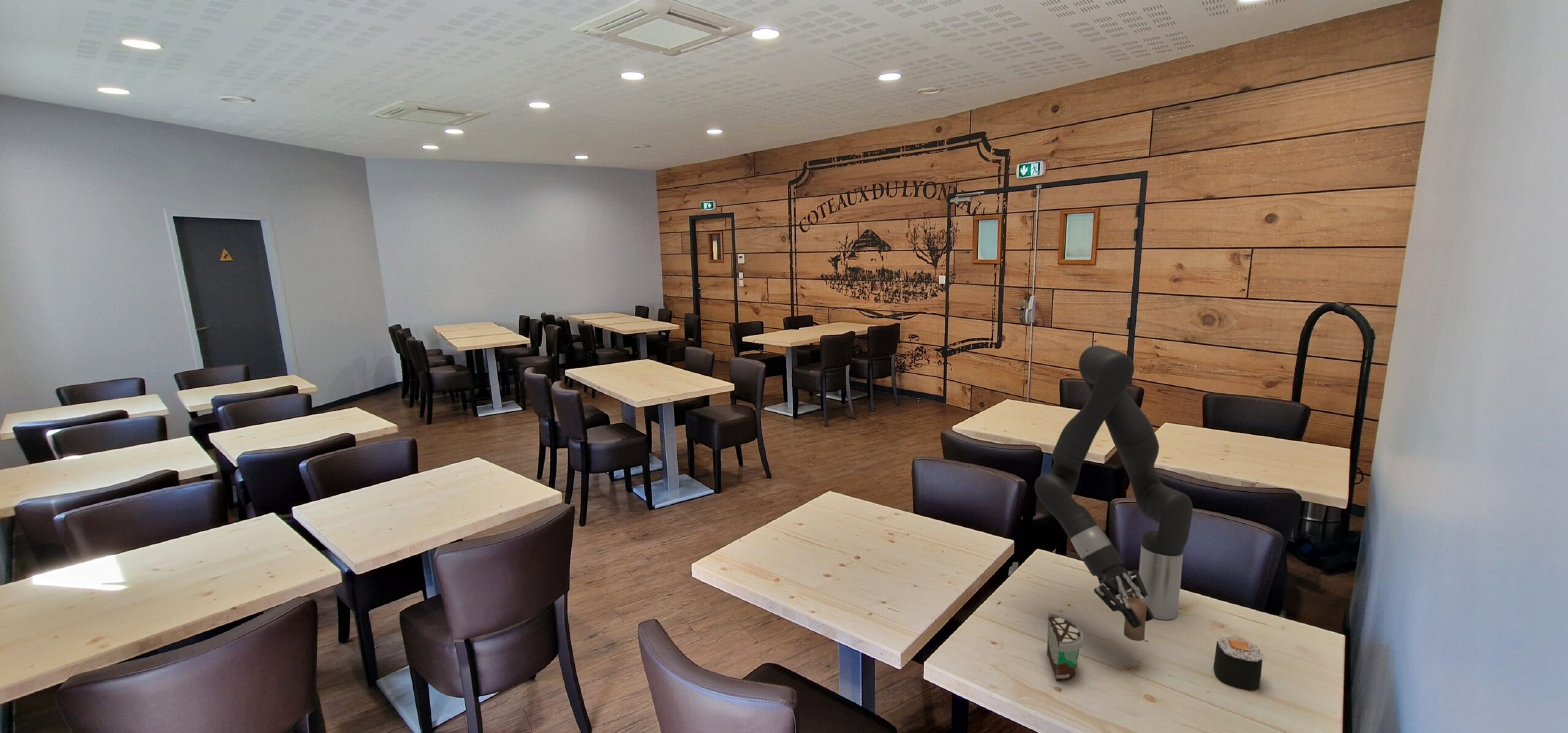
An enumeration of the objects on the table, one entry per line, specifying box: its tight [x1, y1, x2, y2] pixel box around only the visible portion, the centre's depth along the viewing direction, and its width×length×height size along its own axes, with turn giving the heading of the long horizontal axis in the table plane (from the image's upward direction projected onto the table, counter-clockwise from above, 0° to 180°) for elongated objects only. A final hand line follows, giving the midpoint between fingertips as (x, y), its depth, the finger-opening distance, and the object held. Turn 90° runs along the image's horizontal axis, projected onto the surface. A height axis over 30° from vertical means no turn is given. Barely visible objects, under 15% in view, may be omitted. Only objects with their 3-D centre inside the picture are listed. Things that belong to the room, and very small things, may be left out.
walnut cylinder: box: [1123, 597, 1147, 642], centre depth 138 cm, size 4×4×8 cm
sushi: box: [1213, 635, 1265, 691], centre depth 135 cm, size 8×8×8 cm
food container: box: [1046, 612, 1085, 682], centre depth 139 cm, size 12×6×10 cm, turn 168°
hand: (1143, 623), depth 137 cm, fingers closed on walnut cylinder, 4 cm apart
